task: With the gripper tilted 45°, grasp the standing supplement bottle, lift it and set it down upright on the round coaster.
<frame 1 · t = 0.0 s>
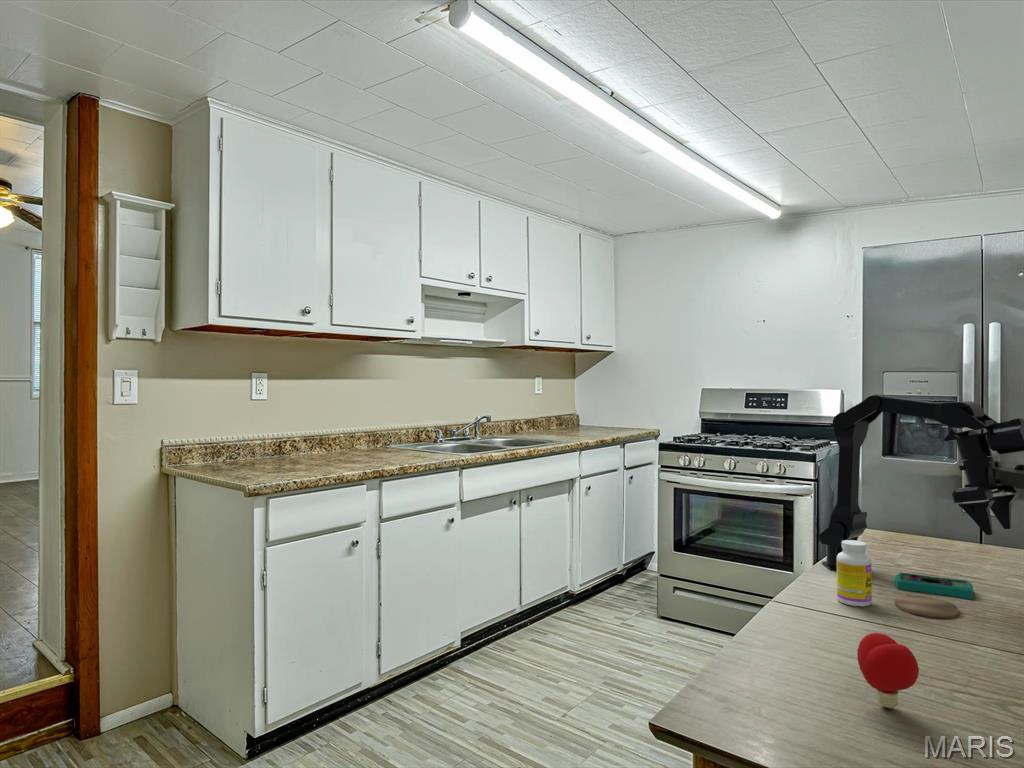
hand: (998, 531, 137), 15 cm above the table, tool pointing down, fingers open, 9 cm apart
digital multimeter: (933, 592, 147), on the table
coaster: (925, 608, 135), on the table
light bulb: (887, 709, 94), on the table
supplement bottle: (854, 603, 139), on the table
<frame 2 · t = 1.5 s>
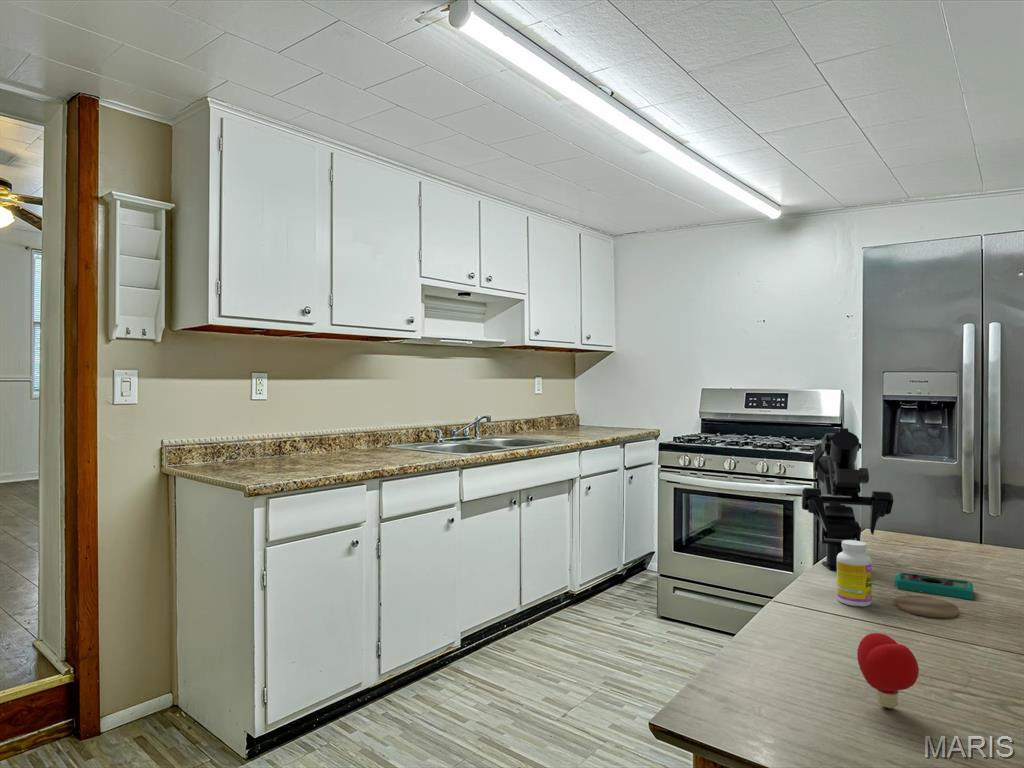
hand: (849, 532, 146), 13 cm above the table, tool tilted 45°, fingers open, 9 cm apart
nothing on the table moved.
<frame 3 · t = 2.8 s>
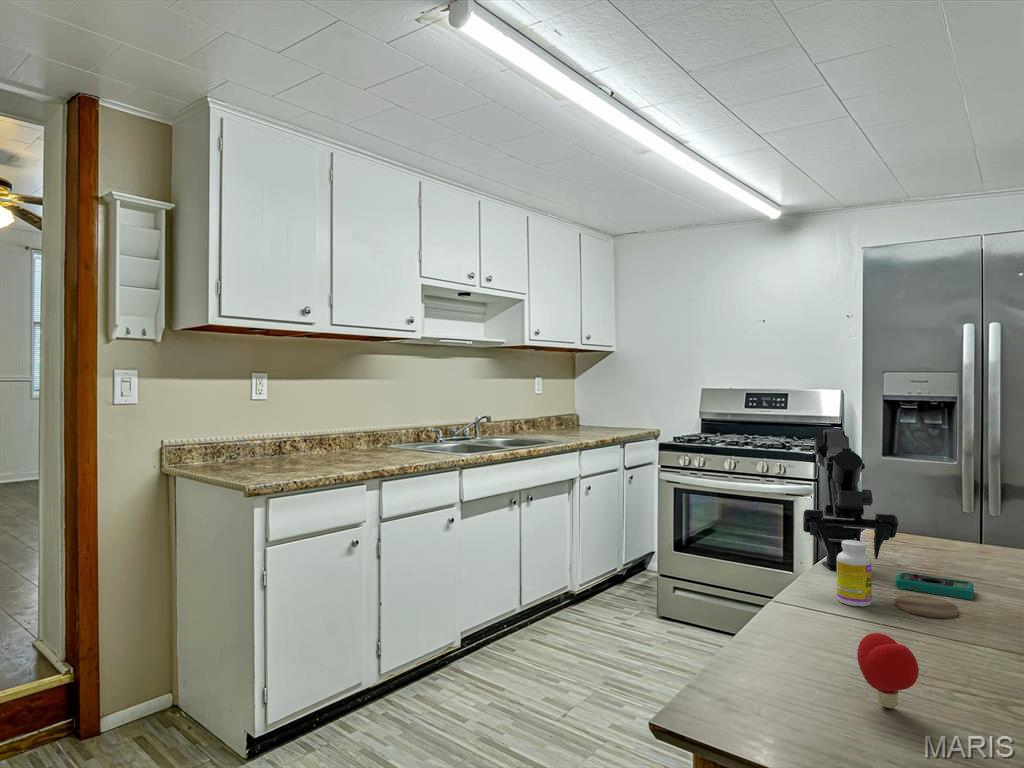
hand: (852, 556, 141), 9 cm above the table, tool tilted 45°, fingers open, 9 cm apart
nothing on the table moved.
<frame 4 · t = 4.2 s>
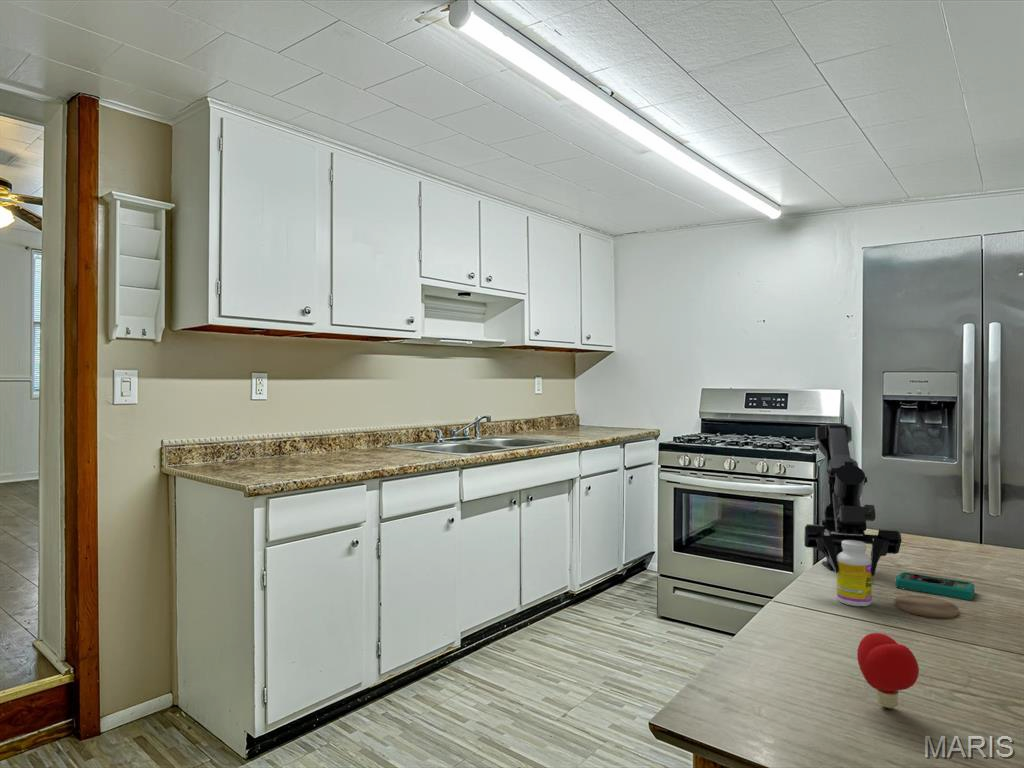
hand: (854, 573, 138), 7 cm above the table, tool tilted 45°, fingers closed on supplement bottle, 7 cm apart
supplement bottle: (854, 603, 139), on the table, touching gripper
everything else where it was.
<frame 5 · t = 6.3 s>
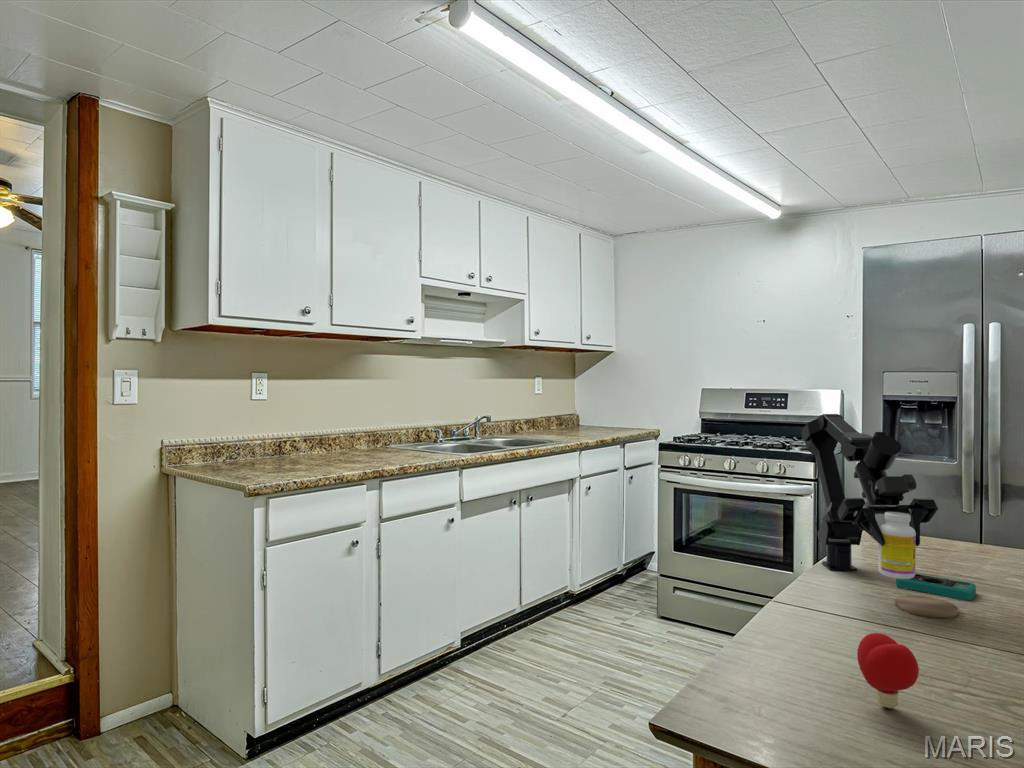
hand: (900, 544, 135), 13 cm above the table, tool tilted 45°, fingers closed on supplement bottle, 7 cm apart
supplement bottle: (896, 575, 136), point 7 cm above the table, touching gripper
everything else where it was.
when the fingers open (9 cm above the table, at t = 8.7 s): supplement bottle drops 1 cm, resting on coaster.
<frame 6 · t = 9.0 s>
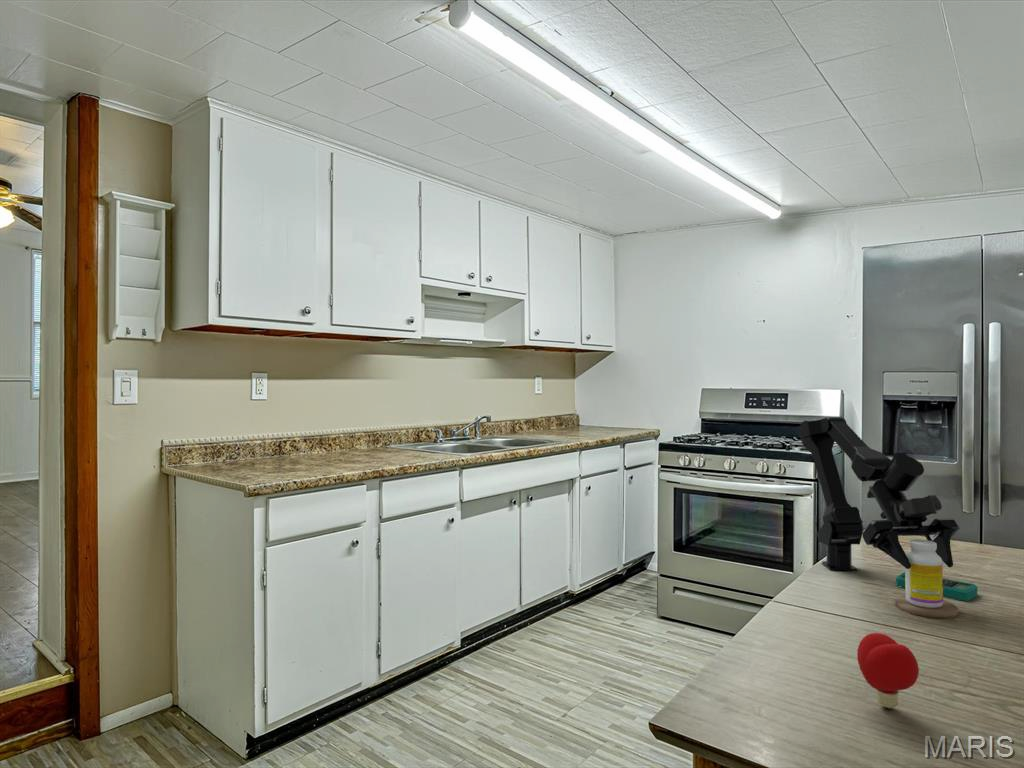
hand: (930, 567, 134), 9 cm above the table, tool tilted 45°, fingers open, 9 cm apart
supplement bottle: (924, 604, 135), point 1 cm above the table, touching coaster
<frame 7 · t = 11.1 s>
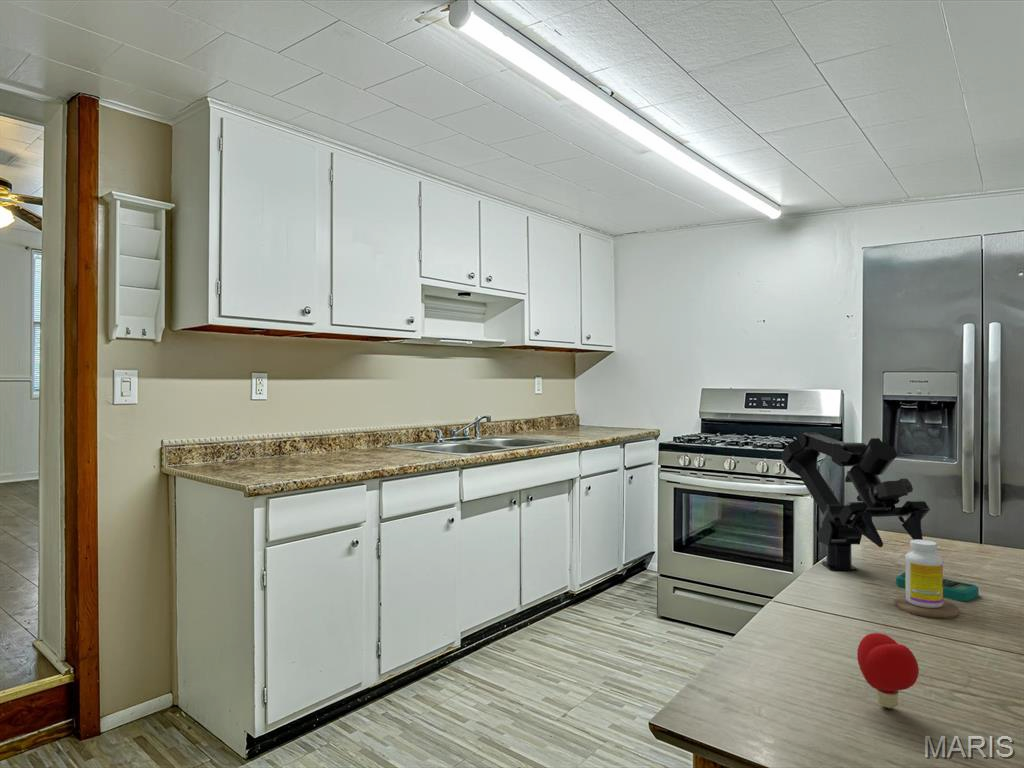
hand: (901, 545, 142), 11 cm above the table, tool tilted 45°, fingers open, 9 cm apart
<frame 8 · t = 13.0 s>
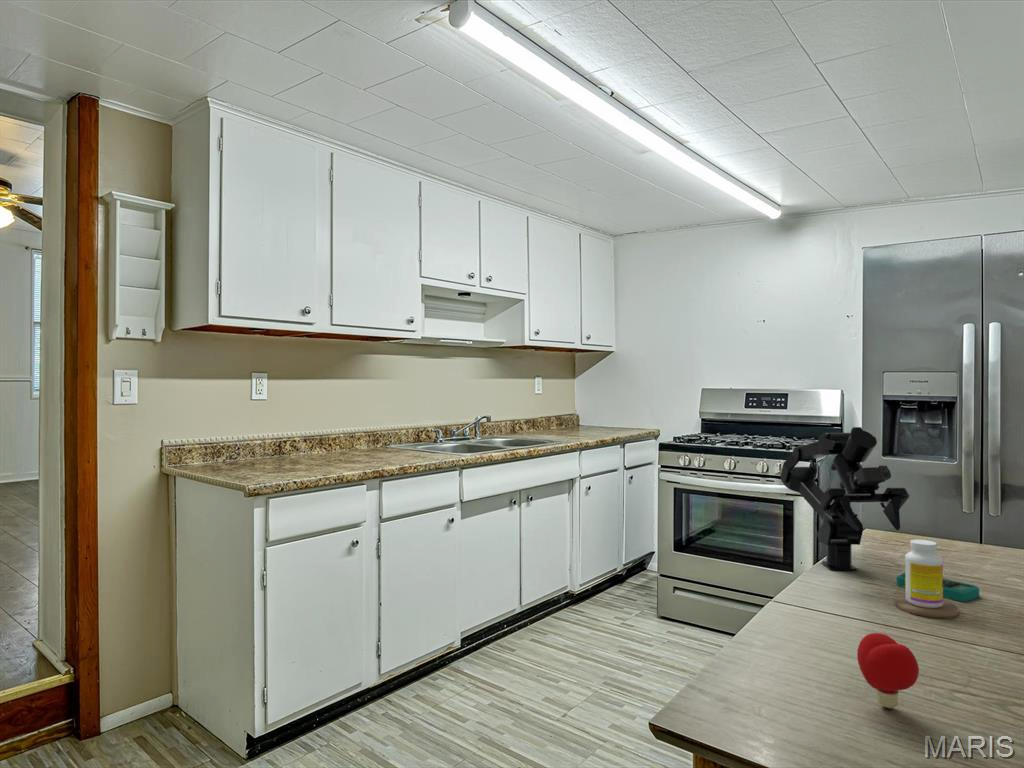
hand: (878, 529, 148), 14 cm above the table, tool tilted 45°, fingers open, 9 cm apart
at the end: supplement bottle 0.4 cm off-centre on the coaster, point 0.8 cm above the coaster's base; supplement bottle tilted 0°; the gripper is holding nothing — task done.
